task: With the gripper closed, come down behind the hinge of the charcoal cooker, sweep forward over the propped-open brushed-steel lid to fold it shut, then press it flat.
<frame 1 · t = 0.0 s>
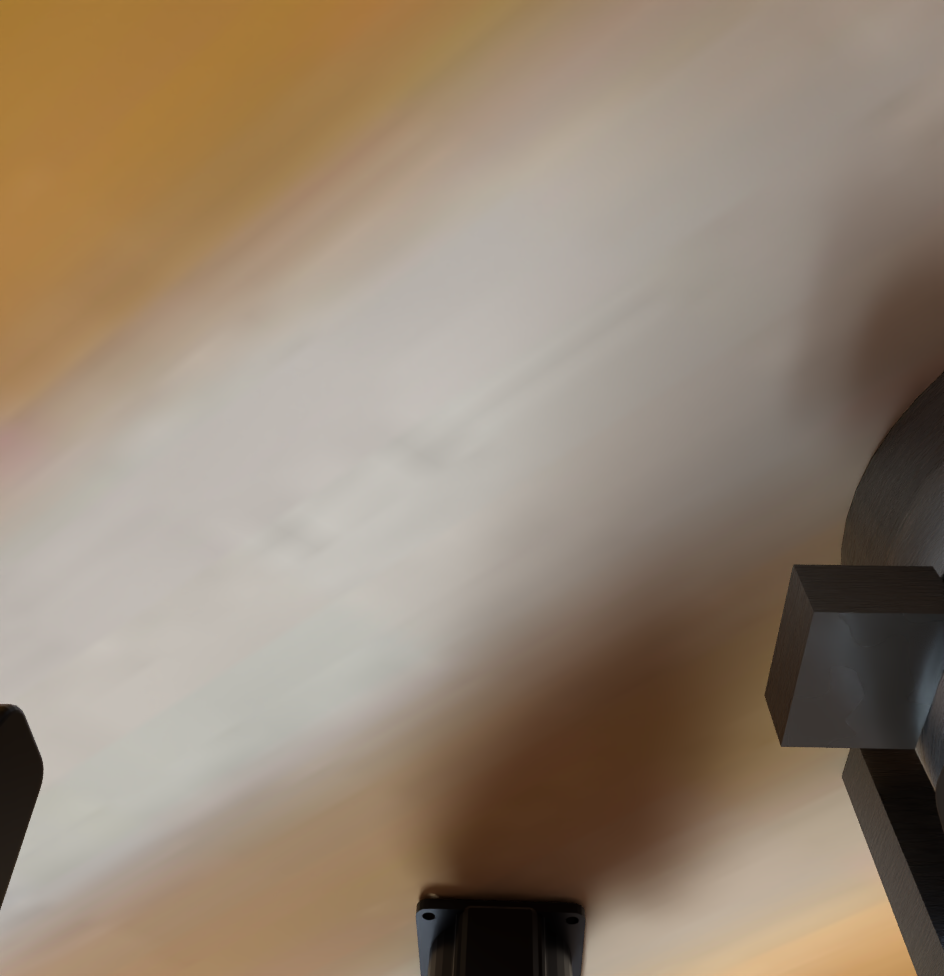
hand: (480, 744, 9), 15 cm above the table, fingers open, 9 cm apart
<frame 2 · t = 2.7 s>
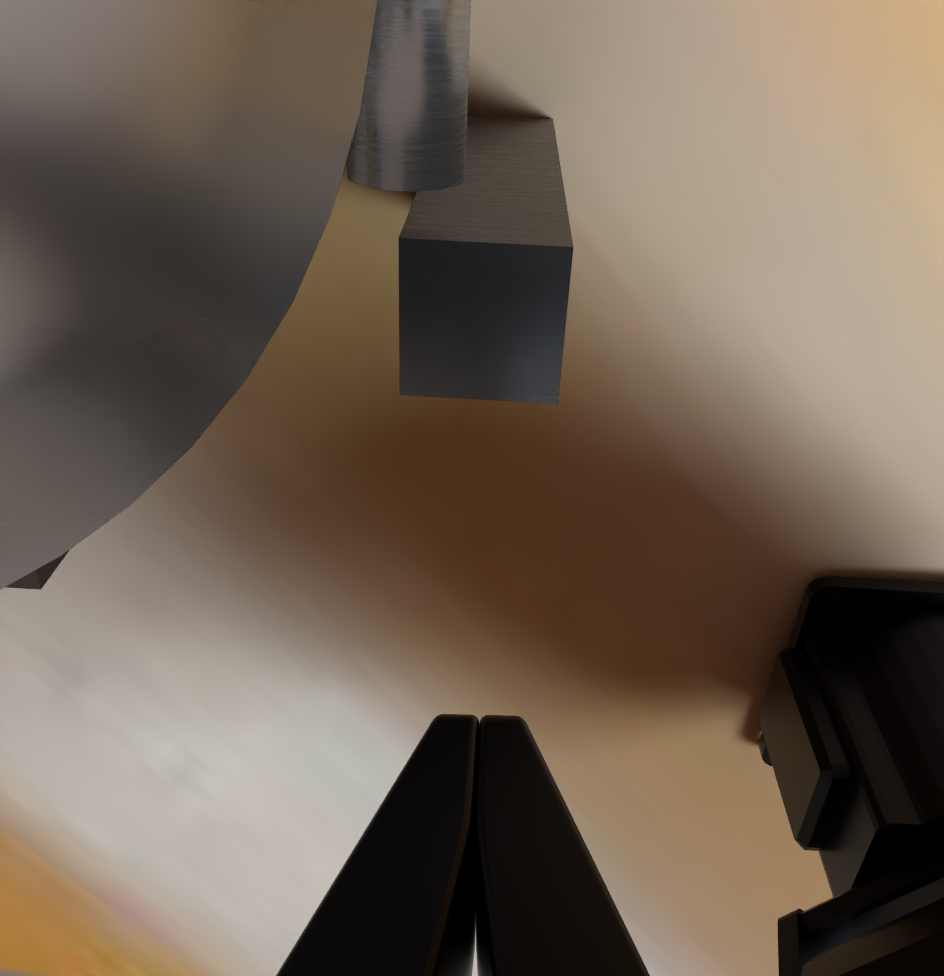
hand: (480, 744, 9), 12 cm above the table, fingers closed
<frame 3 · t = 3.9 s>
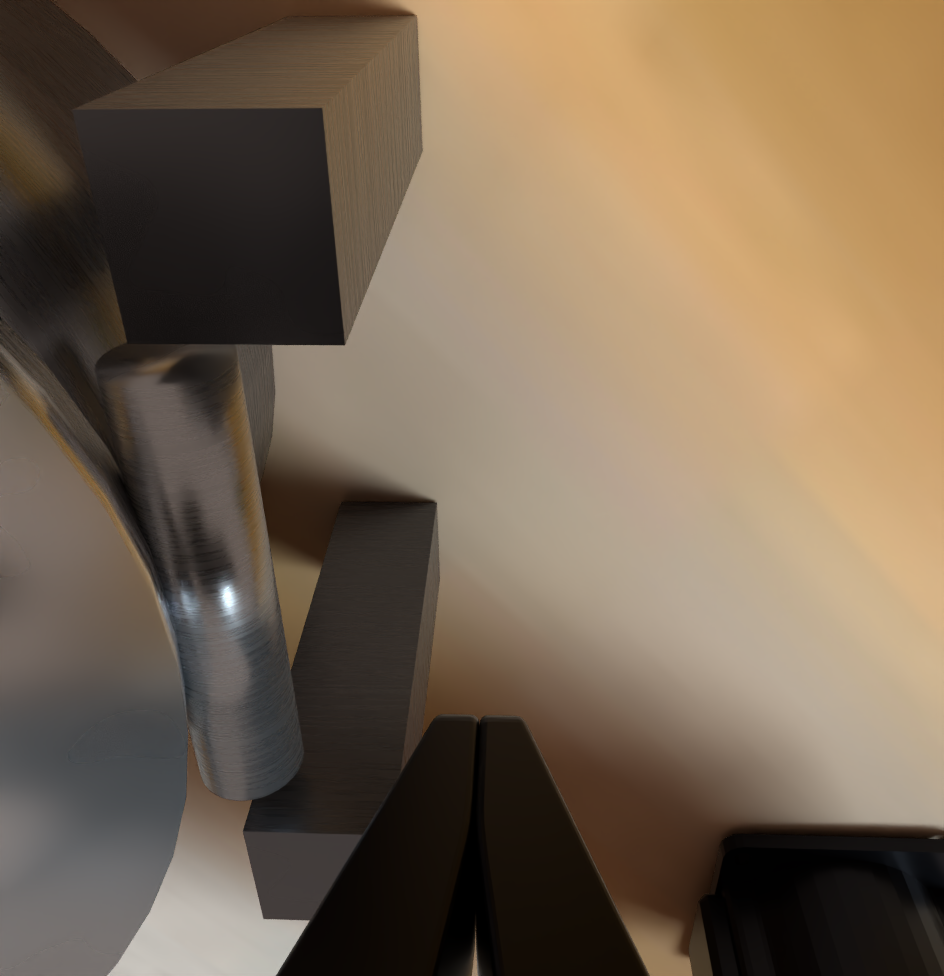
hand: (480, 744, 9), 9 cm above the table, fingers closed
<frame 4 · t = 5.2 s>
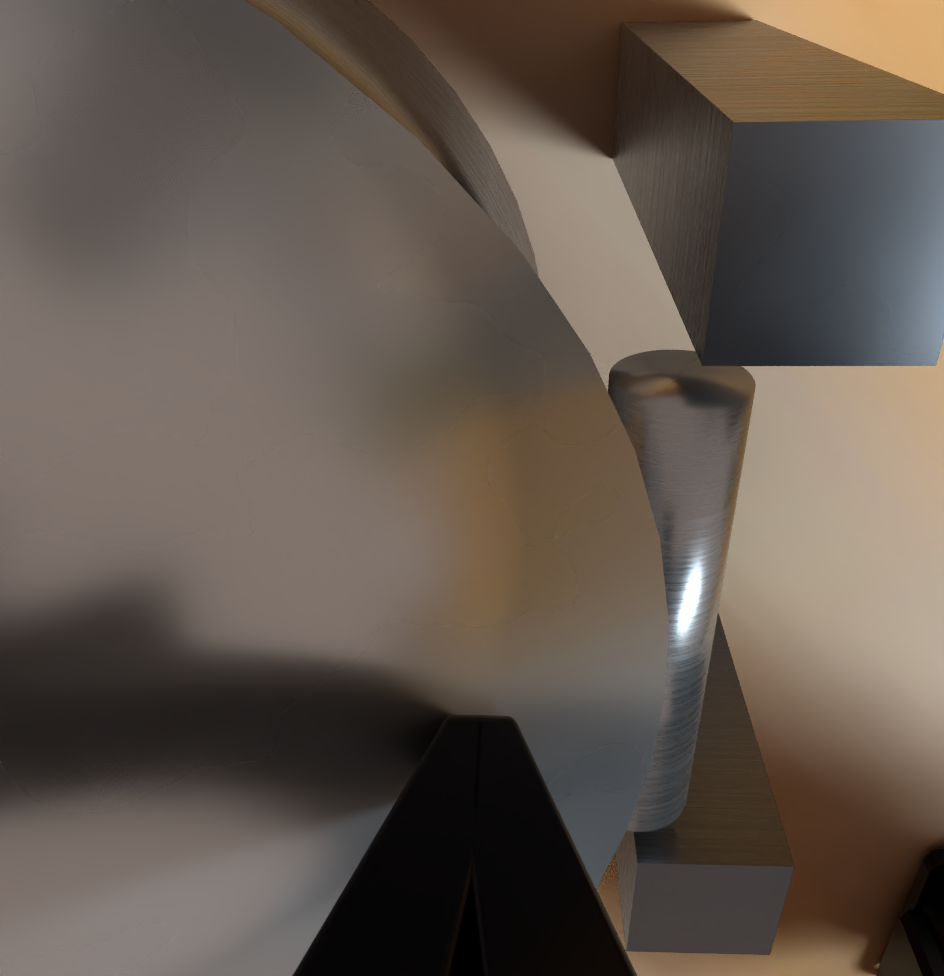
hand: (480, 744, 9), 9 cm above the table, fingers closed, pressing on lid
cooker: (146, 359, 17), on the table
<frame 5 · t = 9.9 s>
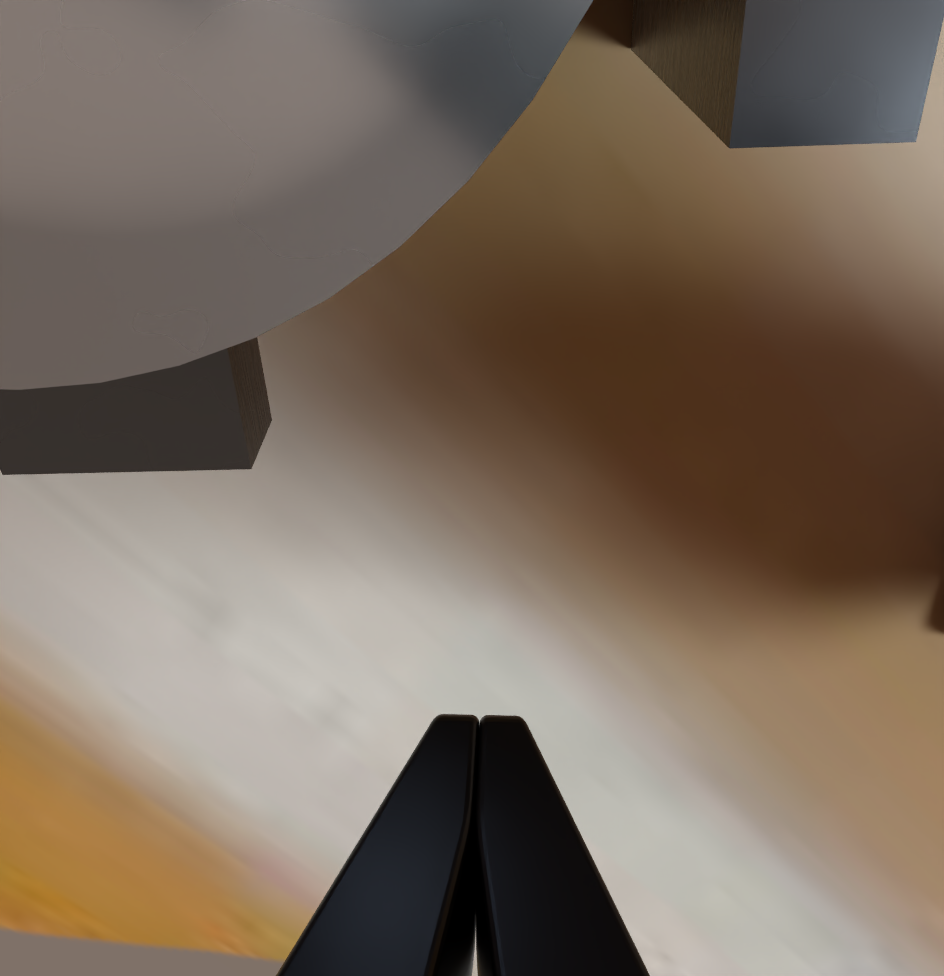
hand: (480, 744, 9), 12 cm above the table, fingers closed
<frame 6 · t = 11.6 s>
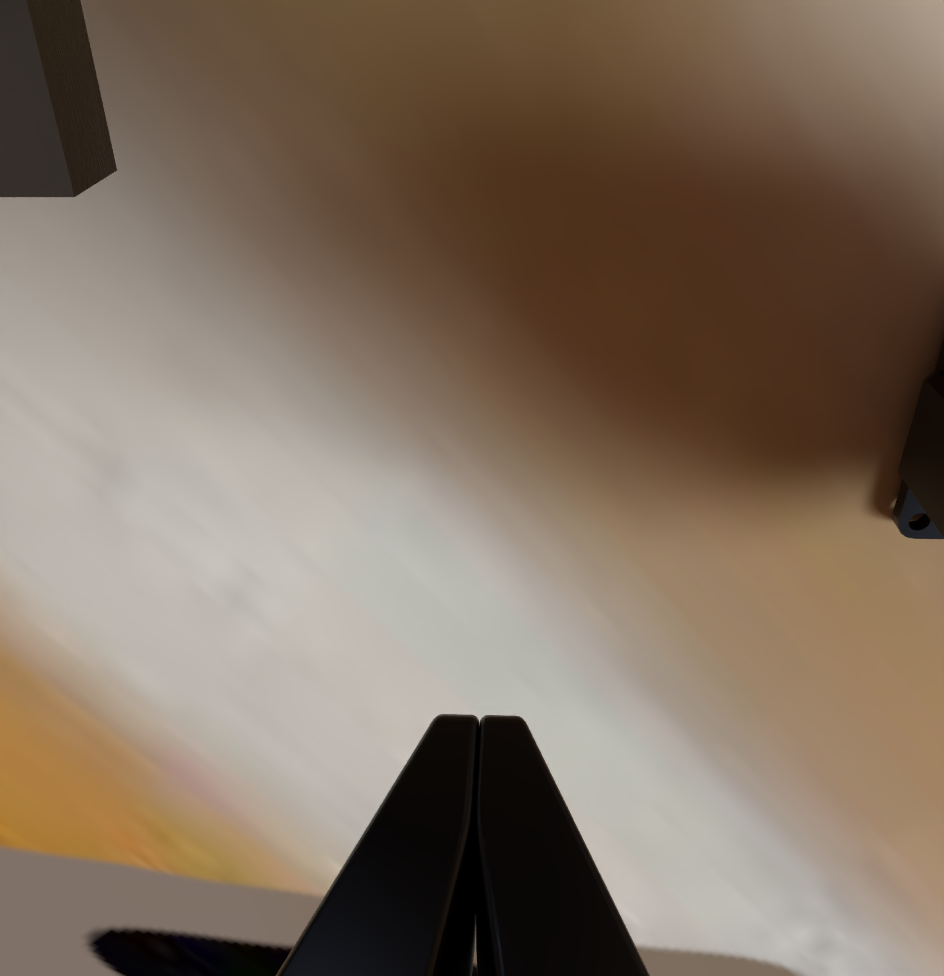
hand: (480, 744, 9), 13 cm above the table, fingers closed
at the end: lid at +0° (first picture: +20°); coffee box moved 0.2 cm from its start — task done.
